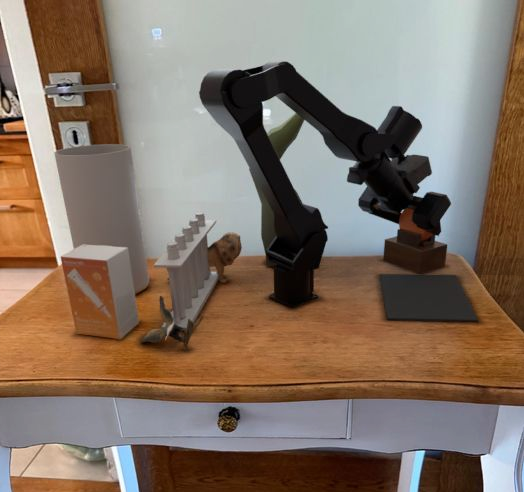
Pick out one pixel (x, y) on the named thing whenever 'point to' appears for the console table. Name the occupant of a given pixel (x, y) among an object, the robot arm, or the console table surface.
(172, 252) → the test tube rack
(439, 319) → the mat
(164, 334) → the eagle figurine
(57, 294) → the console table surface
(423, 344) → the console table surface
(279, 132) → the tentacle
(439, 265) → the brown notched block
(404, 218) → the disc
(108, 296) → the small box
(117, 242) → the cylinder vase
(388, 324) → the console table surface
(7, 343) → the console table surface
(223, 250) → the lion figurine
